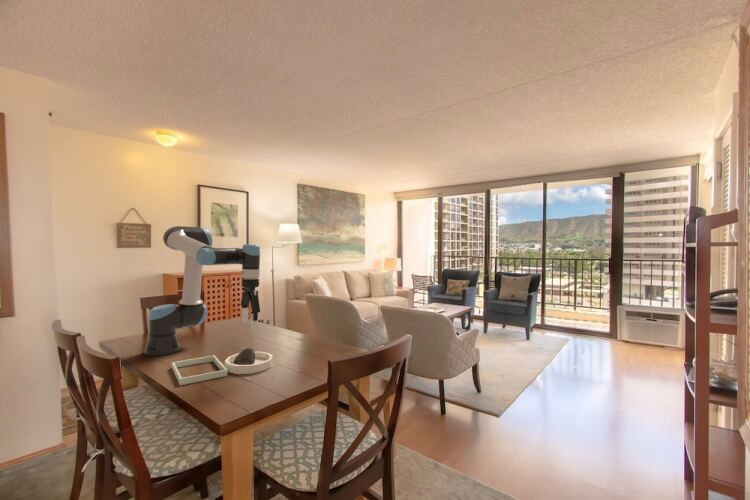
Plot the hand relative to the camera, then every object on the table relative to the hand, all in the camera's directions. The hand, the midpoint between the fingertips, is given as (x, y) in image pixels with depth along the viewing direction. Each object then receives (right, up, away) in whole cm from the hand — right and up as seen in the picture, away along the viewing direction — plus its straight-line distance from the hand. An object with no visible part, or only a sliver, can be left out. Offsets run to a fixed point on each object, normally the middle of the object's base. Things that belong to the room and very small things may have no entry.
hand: (249, 324), depth 157 cm
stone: (-2, -18, -1) cm, 18 cm away
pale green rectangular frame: (-19, -19, -8) cm, 28 cm away
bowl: (0, -19, 0) cm, 19 cm away
